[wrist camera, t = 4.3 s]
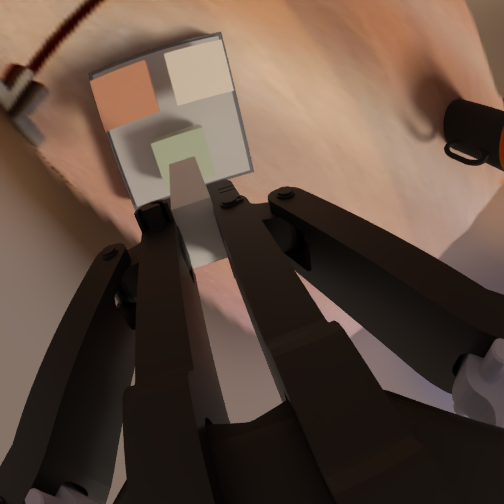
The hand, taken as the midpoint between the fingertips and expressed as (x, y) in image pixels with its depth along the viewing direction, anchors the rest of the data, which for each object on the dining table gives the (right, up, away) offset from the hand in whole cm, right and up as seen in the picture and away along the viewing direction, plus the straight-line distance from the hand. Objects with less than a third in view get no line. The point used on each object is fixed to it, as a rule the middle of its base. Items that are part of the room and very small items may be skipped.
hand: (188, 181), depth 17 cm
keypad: (-4, +9, +10) cm, 14 cm away
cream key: (-1, +10, +4) cm, 11 cm away
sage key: (-2, +5, +8) cm, 10 cm away
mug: (+33, +14, +18) cm, 41 cm away
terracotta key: (-6, +8, +3) cm, 11 cm away
